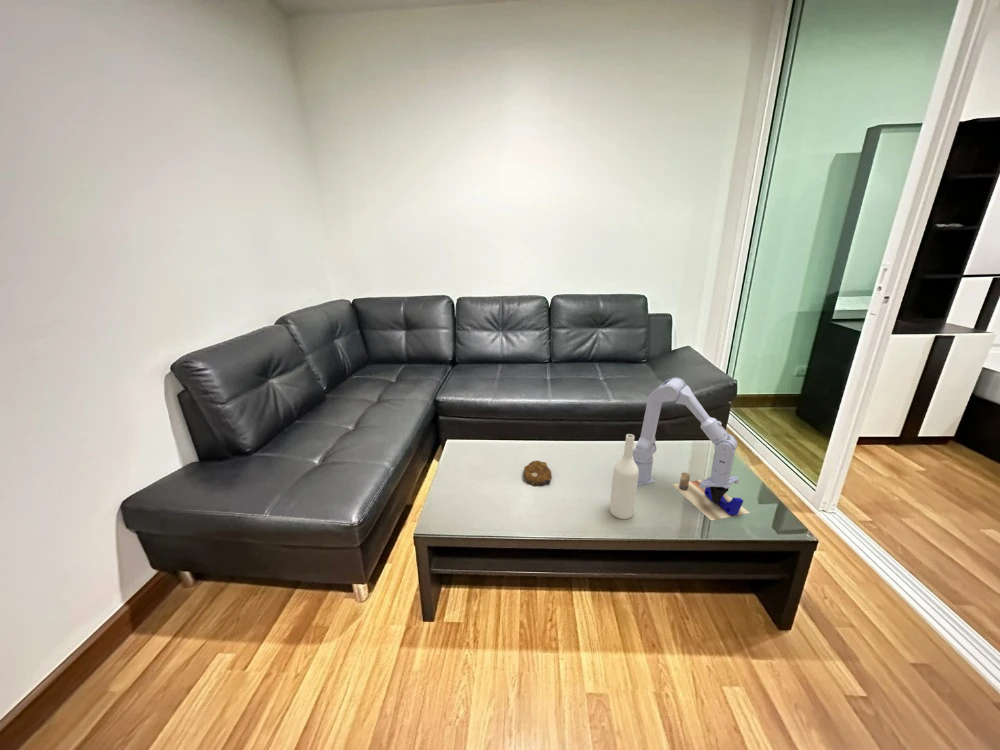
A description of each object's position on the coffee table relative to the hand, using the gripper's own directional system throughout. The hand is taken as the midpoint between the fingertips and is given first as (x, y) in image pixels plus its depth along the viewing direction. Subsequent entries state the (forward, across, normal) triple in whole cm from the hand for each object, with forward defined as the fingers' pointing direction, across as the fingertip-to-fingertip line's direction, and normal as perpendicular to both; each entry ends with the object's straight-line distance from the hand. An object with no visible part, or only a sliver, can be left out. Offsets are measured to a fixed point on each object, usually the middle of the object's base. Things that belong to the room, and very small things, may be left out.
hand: (715, 502), depth 140 cm
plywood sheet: (+2, +1, +4) cm, 5 cm away
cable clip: (+1, +2, 0) cm, 2 cm away
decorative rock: (+1, -56, +33) cm, 65 cm away
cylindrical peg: (+1, -4, +12) cm, 12 cm away
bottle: (+2, -34, +5) cm, 34 cm away
